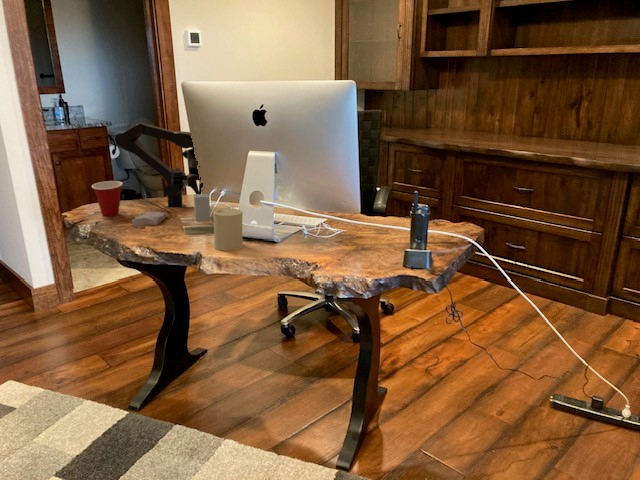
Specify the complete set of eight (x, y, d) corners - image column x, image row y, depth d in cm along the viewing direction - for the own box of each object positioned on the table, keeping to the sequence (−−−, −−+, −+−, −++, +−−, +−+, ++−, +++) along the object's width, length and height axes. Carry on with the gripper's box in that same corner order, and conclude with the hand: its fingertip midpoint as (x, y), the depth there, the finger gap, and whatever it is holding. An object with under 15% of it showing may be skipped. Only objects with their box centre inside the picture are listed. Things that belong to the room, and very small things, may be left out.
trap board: (180, 221, 191) (180, 212, 190) (221, 219, 196) (221, 211, 195) (185, 237, 173) (184, 228, 172) (229, 234, 178) (229, 225, 177)
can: (217, 241, 170) (217, 206, 167) (245, 242, 170) (245, 207, 166) (210, 250, 162) (209, 213, 158) (239, 252, 161) (239, 214, 158)
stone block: (131, 233, 182) (158, 228, 181) (127, 220, 181) (155, 215, 180) (142, 225, 193) (168, 220, 193) (139, 212, 192) (165, 208, 191)
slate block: (194, 218, 192) (193, 194, 189) (208, 217, 193) (207, 193, 191) (195, 221, 187) (195, 197, 185) (209, 220, 189) (209, 196, 186)
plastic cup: (88, 214, 195) (85, 183, 191) (113, 209, 203) (110, 179, 200) (106, 220, 189) (103, 187, 185) (131, 214, 198) (128, 183, 194)
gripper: (170, 150, 192) (174, 185, 185) (221, 150, 198) (226, 184, 191) (170, 167, 201) (173, 201, 195) (218, 166, 207) (223, 200, 201)
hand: (199, 196), depth 195 cm, fingers closed
